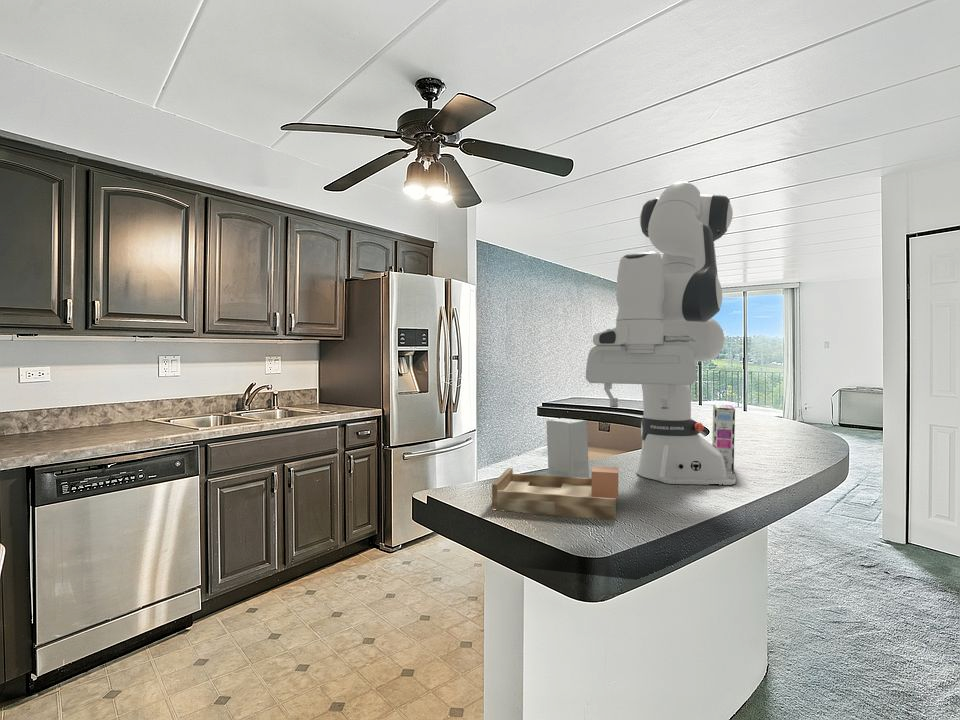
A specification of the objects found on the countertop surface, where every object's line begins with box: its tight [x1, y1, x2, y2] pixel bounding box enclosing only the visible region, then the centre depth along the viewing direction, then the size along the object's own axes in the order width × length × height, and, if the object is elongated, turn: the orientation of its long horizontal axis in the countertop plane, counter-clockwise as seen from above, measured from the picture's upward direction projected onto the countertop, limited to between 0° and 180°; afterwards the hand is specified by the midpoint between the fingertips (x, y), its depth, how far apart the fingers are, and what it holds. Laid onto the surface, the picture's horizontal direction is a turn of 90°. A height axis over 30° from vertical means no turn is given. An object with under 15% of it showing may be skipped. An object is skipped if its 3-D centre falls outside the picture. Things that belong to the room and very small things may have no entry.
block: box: [591, 465, 619, 500], centre depth 102 cm, size 5×5×5 cm
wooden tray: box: [491, 467, 617, 521], centre depth 104 cm, size 23×15×5 cm, turn 75°
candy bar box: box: [711, 404, 736, 474], centre depth 136 cm, size 11×5×16 cm, turn 158°
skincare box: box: [545, 417, 590, 478], centre depth 121 cm, size 8×6×15 cm
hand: (639, 407), depth 100 cm, fingers open, 8 cm apart
